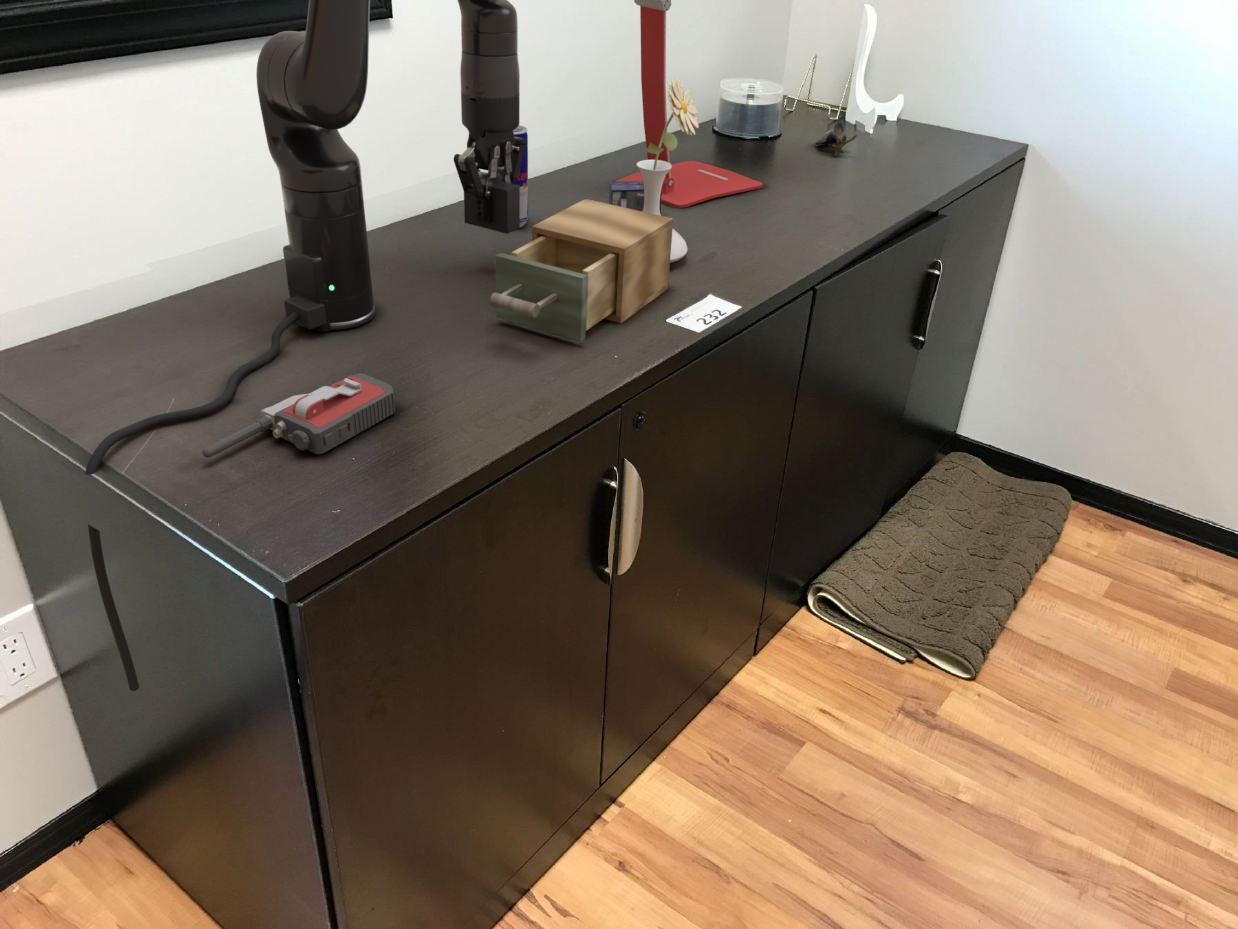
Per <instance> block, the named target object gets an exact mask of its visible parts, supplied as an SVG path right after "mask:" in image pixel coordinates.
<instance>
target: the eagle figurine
mask: <svg viewBox="0 0 1238 929" xmlns="http://www.w3.org/2000/svg"><path fill="white" fill-rule="evenodd" d="M846 125H847V123H846V116H845V115H844V114H843V115H841V116H840V117H839V118H838V119H837V120H836V122H835V123H834V127H833V129H830V130H828V131H827V132H826V133H824V134H823V136H822V137H821V139H818V140H817V141H816V142H815V145H816V146H817V145H822V146H823V145H826V146H831V147H832V149H834V150H835V151H834V154H833V157H834V158H836V157H837V155H838V154H839V153H840V151H841V152H842V153H845V151H844V146H845V145H847V144H848V143H850V142H852V141H854V140H855V139H856V138H857V136H858V134H855V135H853V136H851V137H850V138H848V139H847V134H846V133H844V132H845V130H846ZM843 133H844V134H843ZM841 136H842V137H841Z"/></svg>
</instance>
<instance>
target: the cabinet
mask: <svg viewBox="0 0 1238 929" xmlns="http://www.w3.org/2000/svg"><path fill="white" fill-rule="evenodd" d="M673 227H674V218H673V217H668V216H664V215H661V216H660V215H655V214H651V213H646V212H642V211H638V210H633V209H629V208H624V207H620V206H615V205H611V204H609V203H606V202H602V201H597V200H592V199H588V198H585V199H582V200H580V201H579V202H576V203H575V204H572V205H571V206H569V207H567V208H565V209H562V210H561V211H559V212H557V213H555V214H553V215H551V216H549V217H548V218H545V219H543V220H542V221H539V222H538V223H535V224H533V225H532V226H531V242H532V241H534V240H535V239H537V238H539V237H541V236H543V235H546V236H551V237H555V238H559V239H563V240H567V241H571V242H575V243H579V244H583V245H587V246H591V247H595V248H599V249H603V250H608V251H612V252H616V253H619V261H618V283H617V304H616V310H615V311H614V312H612V313H611V314H609V315H608V316H607V317H605V318H604V319H603V320H607V321H611V322H614V323H618V324H622V323H623V322H625V321H627V320H628V319H629V318H631V317H632V316H633V315H635V314H636V313H637V312H638V311H640V310H641V309H643V308H644V307H645V306H647V305H648V304H650V303H651V302H652V301H654V300H655V299H656V298H657V297H659V296H660V295H662V294H663V293H664V292H666V291H668V289H669V282H670V281H669V280H670V269H671V268H670V266H671V263H670V255H671V242H672V229H674V228H673Z"/></svg>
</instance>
